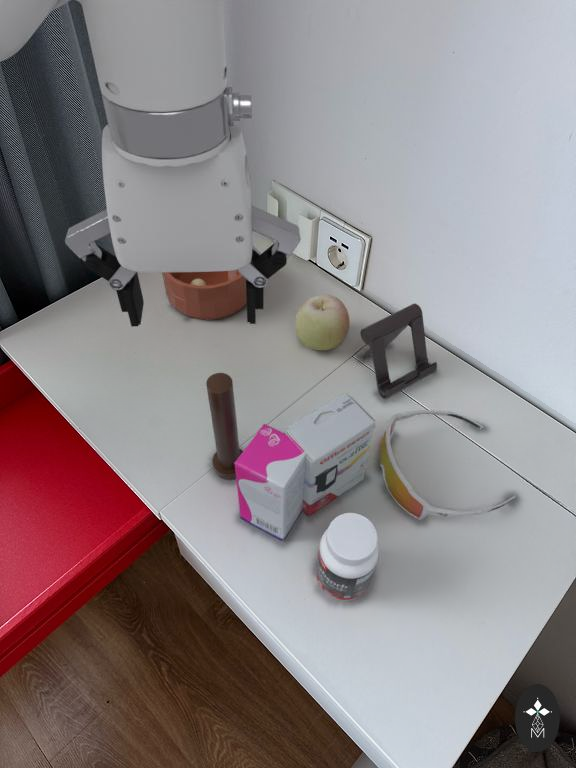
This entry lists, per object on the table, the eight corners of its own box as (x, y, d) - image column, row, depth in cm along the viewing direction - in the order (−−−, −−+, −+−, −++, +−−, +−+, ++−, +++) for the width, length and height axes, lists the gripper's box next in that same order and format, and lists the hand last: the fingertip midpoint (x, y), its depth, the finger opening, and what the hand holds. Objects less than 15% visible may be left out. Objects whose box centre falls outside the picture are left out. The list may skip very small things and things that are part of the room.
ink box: (307, 518, 64) (312, 463, 55) (281, 487, 67) (282, 429, 58) (365, 479, 68) (378, 421, 58) (338, 450, 70) (347, 390, 61)
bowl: (164, 323, 84) (156, 289, 78) (170, 265, 92) (164, 231, 87) (254, 320, 84) (253, 286, 79) (253, 262, 92) (251, 228, 87)
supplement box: (309, 500, 66) (313, 445, 57) (283, 542, 62) (283, 491, 53) (265, 477, 67) (263, 421, 58) (238, 518, 64) (231, 464, 55)
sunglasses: (361, 429, 72) (371, 405, 68) (470, 424, 75) (485, 400, 71) (392, 534, 63) (406, 513, 59) (514, 523, 66) (535, 502, 63)
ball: (188, 280, 84) (195, 273, 86) (186, 293, 86) (194, 286, 88) (202, 287, 84) (210, 279, 86) (200, 300, 85) (208, 292, 87)
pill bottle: (304, 574, 60) (308, 533, 53) (340, 538, 63) (349, 495, 55) (345, 614, 58) (355, 578, 50) (381, 575, 60) (396, 535, 53)
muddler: (212, 480, 67) (198, 399, 55) (213, 451, 70) (199, 367, 58) (246, 479, 67) (239, 397, 55) (246, 450, 70) (239, 366, 58)
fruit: (336, 366, 79) (341, 325, 72) (287, 350, 80) (287, 308, 74) (354, 330, 83) (360, 288, 77) (307, 315, 85) (310, 273, 79)
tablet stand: (384, 402, 75) (394, 360, 68) (348, 364, 79) (354, 321, 72) (434, 374, 78) (449, 331, 71) (397, 339, 82) (407, 295, 76)
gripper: (302, 88, 39) (293, 283, 52) (39, 87, 38) (98, 286, 51) (311, 145, 34) (299, 343, 47) (11, 145, 33) (84, 348, 46)
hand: (195, 313), depth 49 cm, fingers open, 9 cm apart
